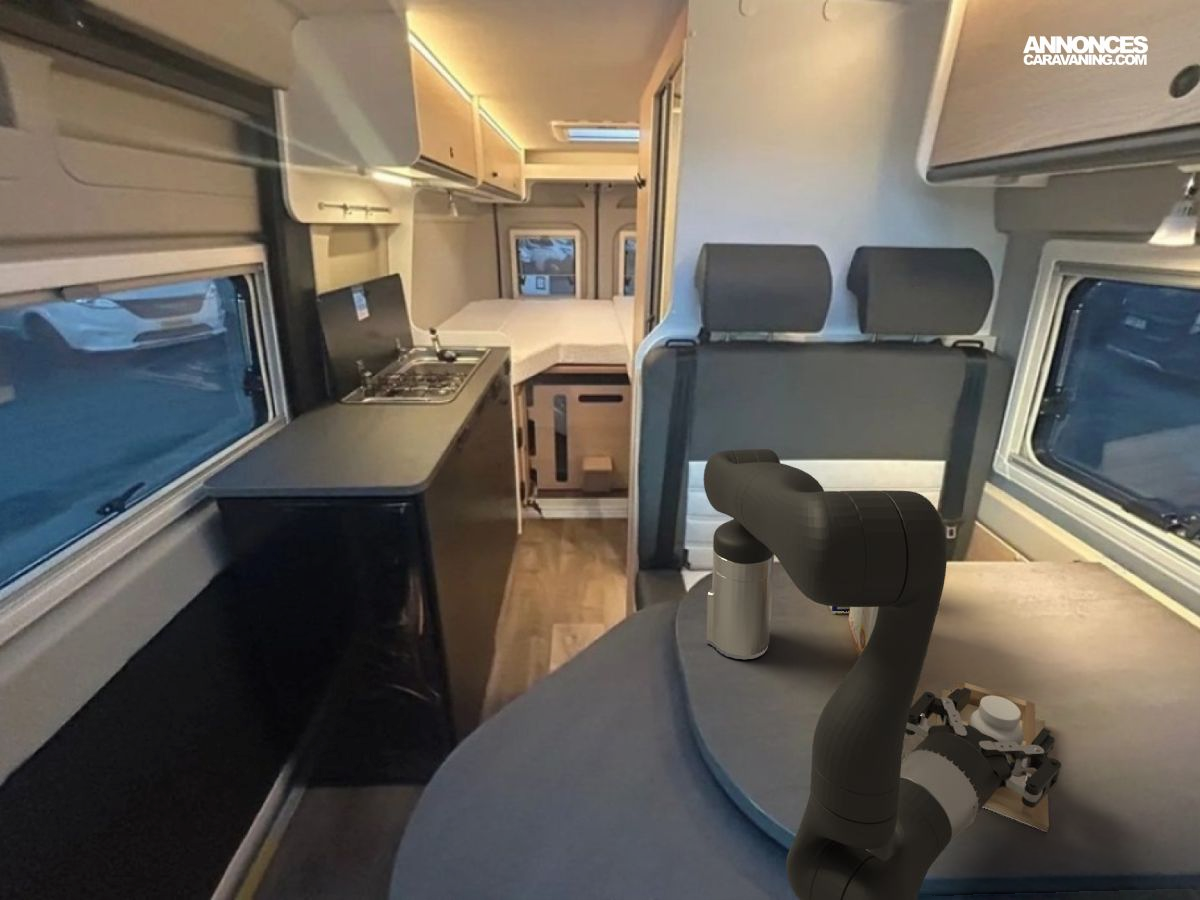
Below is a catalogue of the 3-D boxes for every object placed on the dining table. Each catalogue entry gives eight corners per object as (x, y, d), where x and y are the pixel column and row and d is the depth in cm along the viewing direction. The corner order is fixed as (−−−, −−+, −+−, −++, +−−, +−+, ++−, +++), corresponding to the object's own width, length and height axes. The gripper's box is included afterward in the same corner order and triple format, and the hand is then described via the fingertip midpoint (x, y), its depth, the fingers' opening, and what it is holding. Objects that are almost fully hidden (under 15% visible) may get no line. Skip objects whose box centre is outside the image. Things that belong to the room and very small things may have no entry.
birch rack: (925, 786, 74) (929, 763, 73) (941, 694, 89) (945, 674, 87) (1047, 833, 68) (1053, 809, 67) (1043, 726, 82) (1048, 705, 81)
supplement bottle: (969, 746, 78) (981, 684, 75) (1018, 770, 75) (1033, 706, 71) (954, 772, 75) (966, 708, 72) (1005, 799, 71) (1021, 732, 68)
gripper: (1021, 806, 58) (1083, 723, 67) (877, 719, 69) (947, 657, 78) (1007, 864, 60) (1069, 776, 69) (870, 771, 71) (939, 706, 80)
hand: (1004, 714), depth 73 cm, fingers open, 8 cm apart
